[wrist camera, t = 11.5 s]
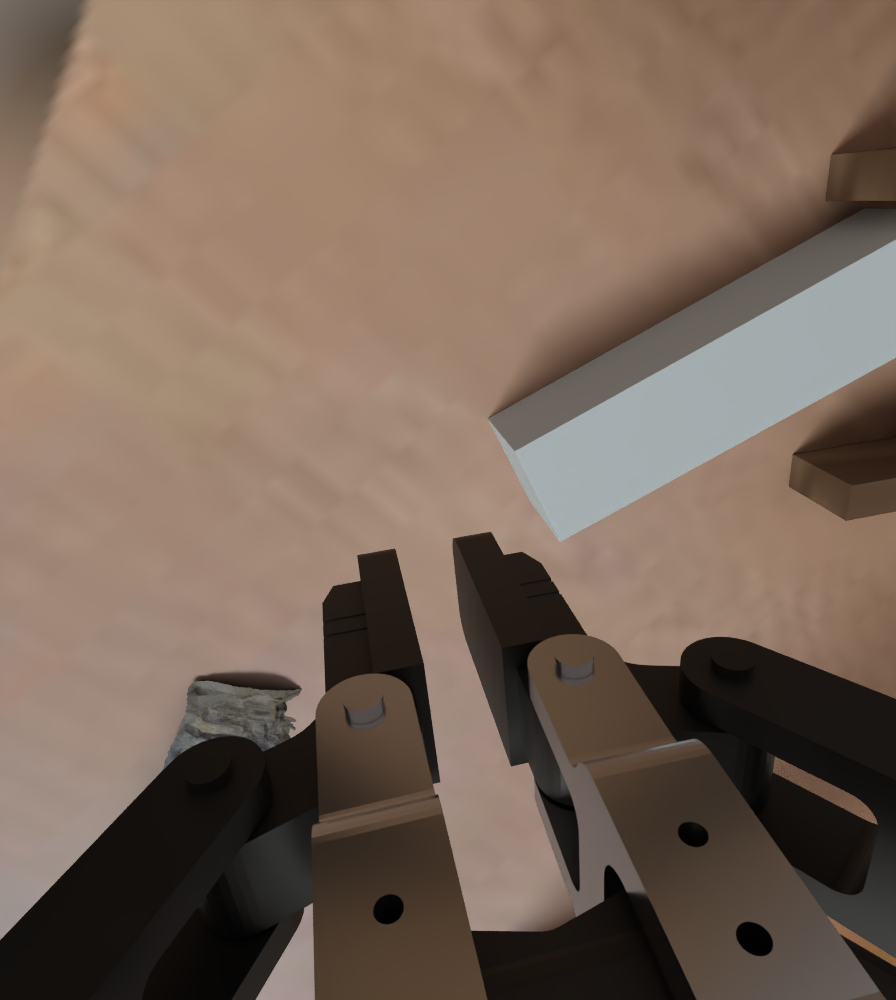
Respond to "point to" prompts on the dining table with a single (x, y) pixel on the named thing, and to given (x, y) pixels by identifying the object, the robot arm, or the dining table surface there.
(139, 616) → the dining table surface
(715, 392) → the white rectangular bar
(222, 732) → the grey flat forked piece
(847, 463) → the end cap
